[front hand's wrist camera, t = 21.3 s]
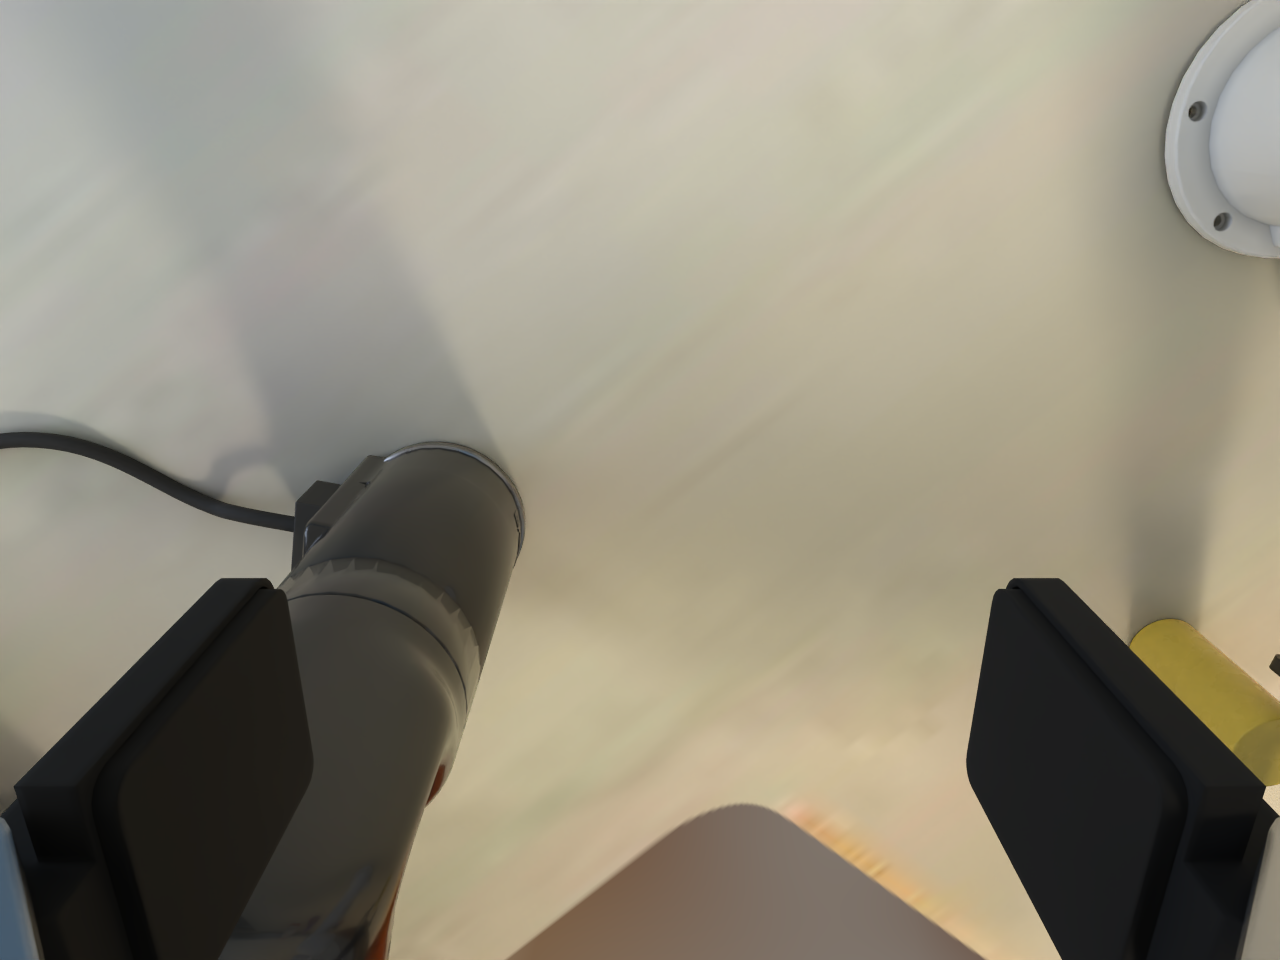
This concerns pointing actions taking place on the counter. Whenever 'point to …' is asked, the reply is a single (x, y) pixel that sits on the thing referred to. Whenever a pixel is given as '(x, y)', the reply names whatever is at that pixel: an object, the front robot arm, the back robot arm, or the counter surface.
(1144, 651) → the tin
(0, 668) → the counter surface
